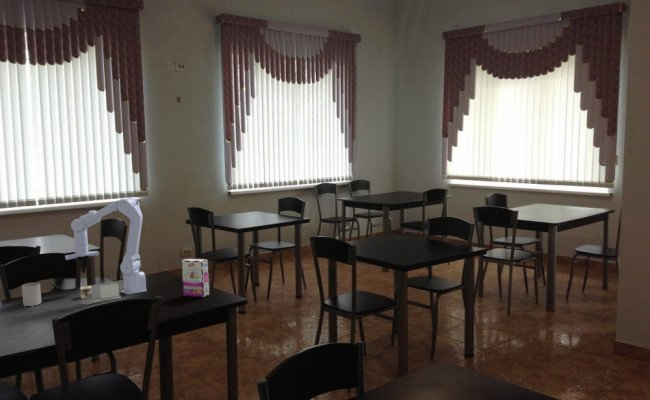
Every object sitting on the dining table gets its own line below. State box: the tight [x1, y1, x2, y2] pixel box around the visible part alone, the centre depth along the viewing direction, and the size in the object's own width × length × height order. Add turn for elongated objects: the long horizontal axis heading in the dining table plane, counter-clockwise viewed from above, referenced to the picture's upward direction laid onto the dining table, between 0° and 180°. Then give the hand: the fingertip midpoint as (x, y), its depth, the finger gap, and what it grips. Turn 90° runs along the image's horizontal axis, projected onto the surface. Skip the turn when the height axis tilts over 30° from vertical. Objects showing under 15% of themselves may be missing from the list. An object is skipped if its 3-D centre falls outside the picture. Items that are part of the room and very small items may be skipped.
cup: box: [21, 282, 42, 307], centre depth 264 cm, size 7×10×9 cm
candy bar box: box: [181, 258, 210, 298], centre depth 270 cm, size 11×5×16 cm, turn 68°
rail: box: [82, 294, 122, 306], centre depth 266 cm, size 16×2×1 cm, turn 131°
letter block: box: [80, 285, 93, 300], centre depth 273 cm, size 4×5×4 cm
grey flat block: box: [99, 282, 120, 299], centre depth 268 cm, size 8×1×6 cm, turn 131°
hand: (83, 272), depth 281 cm, fingers closed
